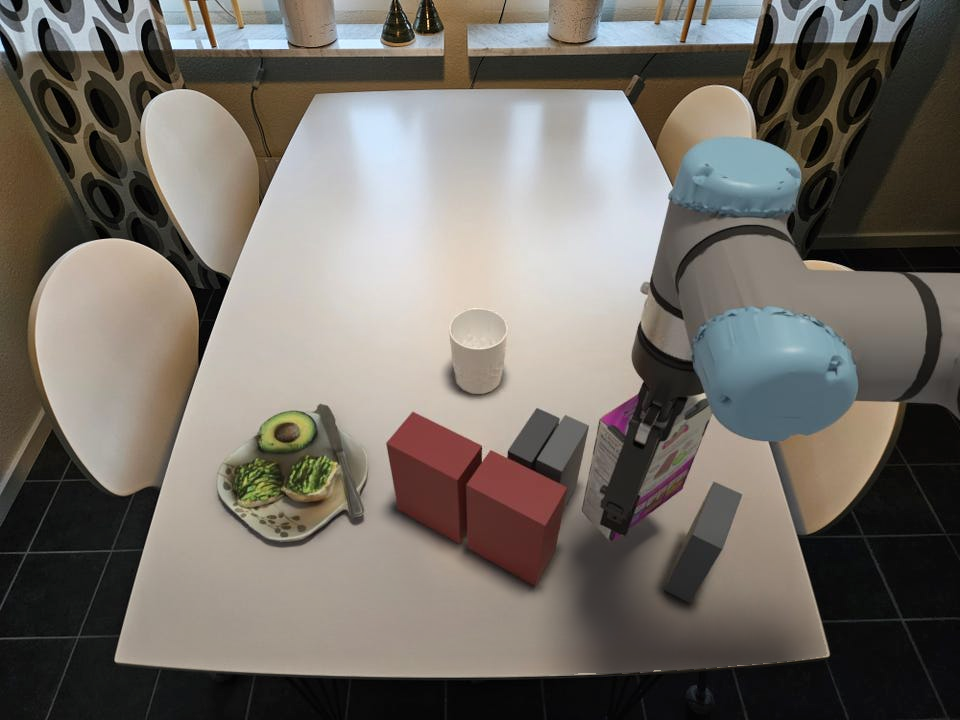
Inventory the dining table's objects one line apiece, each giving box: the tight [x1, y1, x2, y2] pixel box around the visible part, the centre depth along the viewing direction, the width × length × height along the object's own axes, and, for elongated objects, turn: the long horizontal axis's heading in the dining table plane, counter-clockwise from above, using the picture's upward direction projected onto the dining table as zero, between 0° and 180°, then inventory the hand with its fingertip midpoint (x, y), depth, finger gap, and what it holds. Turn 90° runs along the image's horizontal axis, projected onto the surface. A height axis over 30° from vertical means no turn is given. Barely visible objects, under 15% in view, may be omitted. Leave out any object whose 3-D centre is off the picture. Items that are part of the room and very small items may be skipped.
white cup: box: [448, 307, 509, 395], centre depth 90 cm, size 8×8×10 cm
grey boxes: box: [506, 407, 743, 604], centre depth 73 cm, size 7×24×13 cm, turn 59°
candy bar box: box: [581, 393, 713, 543], centre depth 64 cm, size 11×5×16 cm, turn 126°
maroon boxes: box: [385, 411, 567, 587], centre depth 72 cm, size 5×19×14 cm, turn 59°
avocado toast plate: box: [216, 403, 369, 543], centre depth 80 cm, size 19×18×5 cm
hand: (637, 480), depth 67 cm, fingers closed on candy bar box, 12 cm apart
